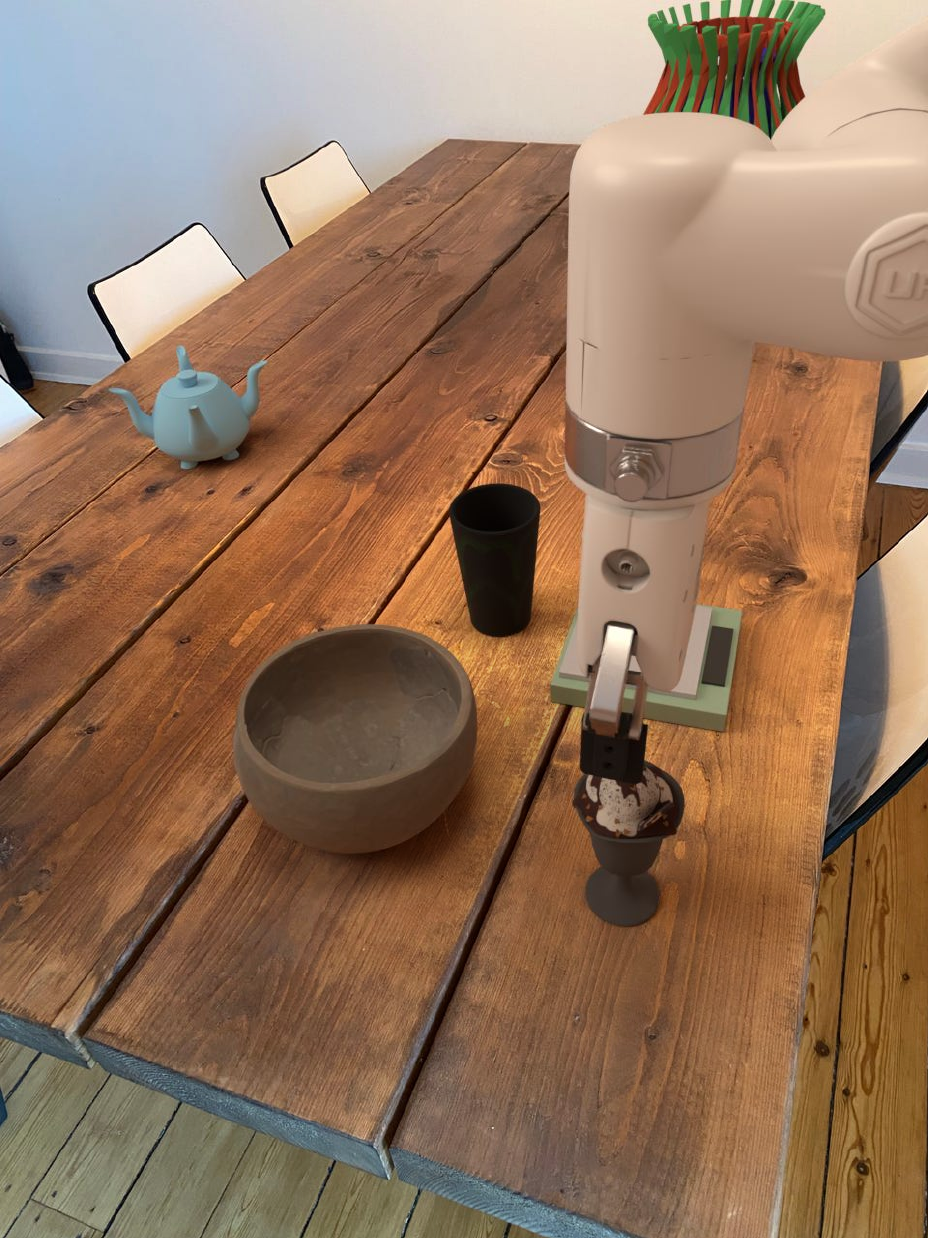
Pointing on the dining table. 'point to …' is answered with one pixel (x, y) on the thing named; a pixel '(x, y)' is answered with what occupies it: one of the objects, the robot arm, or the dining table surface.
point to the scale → (699, 685)
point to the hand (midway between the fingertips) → (628, 709)
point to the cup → (497, 554)
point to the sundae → (627, 840)
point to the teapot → (197, 414)
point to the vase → (734, 61)
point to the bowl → (355, 737)
